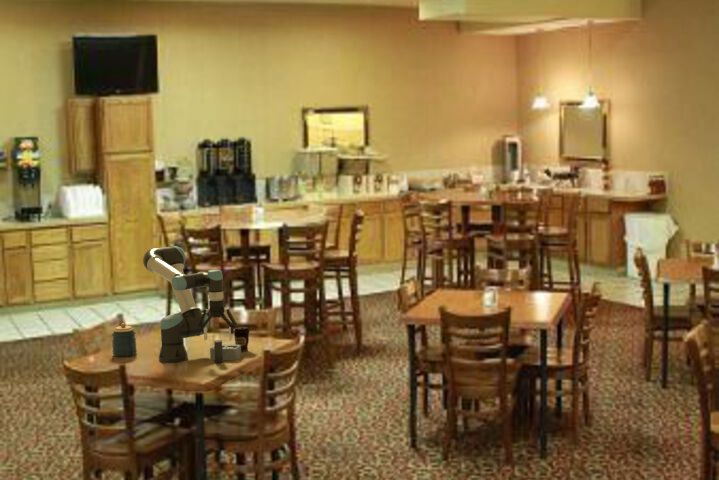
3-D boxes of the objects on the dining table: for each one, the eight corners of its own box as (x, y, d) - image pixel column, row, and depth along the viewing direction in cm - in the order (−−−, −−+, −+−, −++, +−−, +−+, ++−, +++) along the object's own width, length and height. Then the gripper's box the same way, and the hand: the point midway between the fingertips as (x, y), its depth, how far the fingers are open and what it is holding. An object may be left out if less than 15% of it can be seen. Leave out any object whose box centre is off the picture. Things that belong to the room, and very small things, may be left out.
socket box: (210, 359, 533) (209, 348, 533) (216, 355, 543) (215, 343, 542) (236, 360, 531) (235, 348, 530) (241, 355, 541) (240, 344, 540)
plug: (214, 363, 525) (213, 340, 523) (216, 361, 529) (215, 339, 527) (221, 363, 524) (220, 340, 523) (223, 361, 528) (222, 339, 527)
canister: (107, 355, 550) (106, 323, 548) (128, 351, 560) (126, 319, 558) (121, 358, 541) (119, 326, 539) (141, 354, 551) (140, 322, 549)
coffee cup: (247, 353, 547) (246, 329, 546) (232, 352, 549) (231, 329, 547) (251, 349, 556) (251, 326, 554) (237, 349, 557) (236, 326, 556)
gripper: (190, 301, 521) (193, 341, 523) (237, 300, 517) (239, 341, 519) (195, 298, 528) (197, 338, 530) (241, 298, 524) (243, 338, 526)
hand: (218, 339), depth 525 cm, fingers open, 13 cm apart
